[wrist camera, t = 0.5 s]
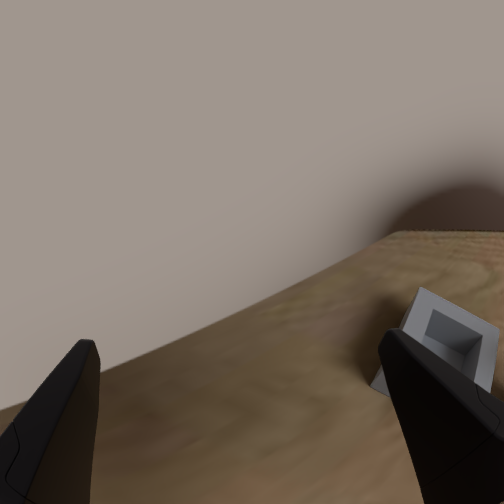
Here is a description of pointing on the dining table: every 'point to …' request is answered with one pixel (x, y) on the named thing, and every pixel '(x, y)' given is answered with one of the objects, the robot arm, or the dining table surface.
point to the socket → (450, 338)
